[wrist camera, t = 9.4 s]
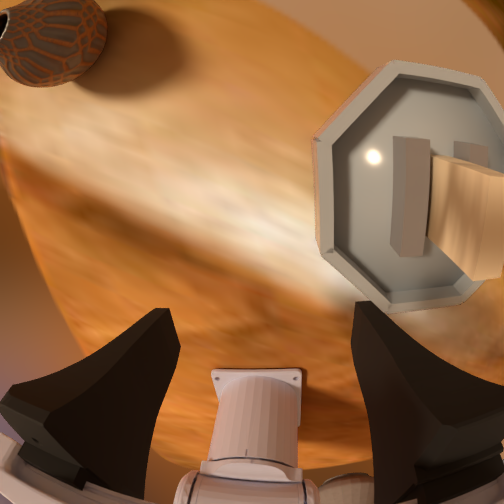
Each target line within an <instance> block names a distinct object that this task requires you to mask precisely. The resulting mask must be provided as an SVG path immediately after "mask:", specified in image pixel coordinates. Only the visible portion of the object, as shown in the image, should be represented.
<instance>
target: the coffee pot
mask: <svg viewBox="0 0 504 504" xmlns="http://www.w3.org/2000/svg"><path fill="white" fill-rule="evenodd" d="M318 490H319V494H320V504H374V477H371V476H369V475H368V474H366V473H348V474H343V475H339V476H335V477H333V478H330V479H328V480H326V481H325V482H324V483H323V485H321V486H320V487H319V488H318Z"/></svg>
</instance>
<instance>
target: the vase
mask: <svg viewBox="0 0 504 504" xmlns="http://www.w3.org/2000/svg"><path fill="white" fill-rule="evenodd" d="M106 38H107V21H106V17H105V15H104V13H103V11H102V9H101V8H100V6H99V5H98V4H97V3H96V2H95V1H94V0H25V1H23V2H22V3H20V4H18V5H16V6H13V7H10V8H6V9H4V10H2V11H0V66H1V67H2V69H3V71H4V72H5V73H6V74H7V75H8V76H9V77H10V78H11V79H13V80H14V81H16V82H18V83H20V84H23V85H26V86H30V87H53V86H57V85H61V84H64V83H67V82H69V81H72V80H74V79H75V78H77V77H79V76H80V75H82V74H83V73H84V72H86V71H87V70H88V69H89V68H90V67H91V66H92V65H93V64H94V62H95V61H96V60H97V58H98V57H99V55H100V54H101V52H102V50H103V47H104V45H105V42H106Z"/></svg>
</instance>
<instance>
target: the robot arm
mask: <svg viewBox="0 0 504 504" xmlns="http://www.w3.org/2000/svg"><path fill="white" fill-rule="evenodd" d="M180 348H181V346H180V343H179V340H178V336H177V333H176V330H175V326H174V323H173V320H172V316H171V313H170V309H169V308H155V309H153V310H152V311H150V312H149V313H148V314H146V315H145V316H144V317H142V318H141V319H140V320H139V321H137V322H136V323H135V324H133V325H132V326H131V327H130V328H128V329H127V330H126V331H124V332H123V333H122V334H120V335H119V336H118V337H116V338H115V339H114V340H112V341H111V342H109V343H108V344H106V345H105V346H104V347H102V348H101V349H99V350H98V351H96V352H95V353H93V354H91V355H90V356H88V357H86V358H84V359H83V360H81V361H79V362H77V363H75V364H73V365H71V366H69V367H67V368H64V369H62V370H60V371H58V372H55V373H53V374H50V375H47V376H44V377H41V378H38V379H35V380H31V381H27V382H23V383H19V384H15V385H12V387H11V388H10V389H9V391H8V392H7V393H6V394H5V396H4V397H3V398H2V400H1V401H0V413H1V415H2V416H3V417H4V419H5V420H6V421H7V422H8V423H9V425H10V426H11V427H12V428H13V429H14V430H15V431H16V432H17V433H18V434H19V435H20V436H21V438H22V439H23V440H24V441H25V442H24V444H23V445H20V444H19V443H18V442H16V441H15V440H13V439H11V438H10V437H8V436H7V435H5V434H3V433H0V493H1V494H2V495H3V496H5V497H6V498H7V499H9V500H10V501H11V502H12V503H14V504H156V503H152V502H148V501H144V489H145V478H146V469H147V463H148V456H149V450H150V445H151V440H152V435H153V431H154V427H155V423H156V419H157V416H158V413H159V410H160V407H161V405H162V402H163V399H164V397H165V394H166V392H167V389H168V387H169V384H170V382H171V379H172V376H173V374H174V371H175V369H176V365H177V361H178V357H179V352H180ZM351 348H352V355H353V361H354V366H355V370H356V373H357V377H358V380H359V384H360V387H361V391H362V394H363V398H364V402H365V405H366V409H367V413H368V418H369V425H370V433H371V441H372V452H373V466H374V504H504V459H503V460H502V458H501V455H500V453H501V452H503V449H504V448H503V446H502V443H501V441H502V440H503V439H504V386H501V385H498V384H495V383H492V382H488V381H486V380H483V379H481V378H478V377H476V376H473V375H471V374H469V373H467V372H465V371H462V370H460V369H459V368H457V367H455V366H453V365H451V364H449V363H447V362H446V361H444V360H442V359H441V358H439V357H438V356H436V355H435V354H433V353H432V352H430V351H429V350H427V349H426V348H424V347H423V346H422V345H420V344H419V343H418V342H417V341H415V340H414V339H413V338H412V337H410V336H409V335H408V334H407V333H405V332H404V331H403V330H402V329H401V328H400V327H399V326H398V325H396V324H395V323H394V322H393V321H392V320H391V319H390V318H389V317H388V316H387V315H386V314H385V313H384V312H382V311H381V310H380V309H379V308H378V307H377V306H376V305H375V304H374V303H373V302H372V301H360V302H355V312H354V321H353V329H352V337H351ZM211 376H212V380H213V383H214V387H215V390H216V394H217V397H218V400H219V407H218V412H217V417H216V421H215V426H214V431H213V435H212V440H211V445H210V450H209V454H208V459H207V461H202V463H201V467H200V471H197V470H192V471H190V472H189V473H188V474H186V475H185V476H183V478H182V479H181V481H180V483H179V485H178V488H177V491H176V495H175V499H174V504H320V494H319V490H318V488H317V486H316V485H315V484H314V483H313V482H312V481H311V480H310V479H302V468H298V427H299V426H300V417H301V389H302V371H301V370H300V369H256V370H243V369H214V370H212V372H211ZM217 377H219V378H217Z"/></svg>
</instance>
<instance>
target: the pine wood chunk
mask: <svg viewBox="0 0 504 504" xmlns="http://www.w3.org/2000/svg"><path fill="white" fill-rule="evenodd" d="M425 236H427V237H428V238H429V239H430V240H431V241H432V242H433V243H434V244H435V245H436V246H437V247H439V248H440V249H441V250H442V251H443V252H444V253H445V254H446V255H447V256H448V257H449V258H450V259H451V260H452V261H453V262H454V263H455V264H456V265H457V266H458V267H459V268H460V269H461V270H462V271H463V272H464V273H465V274H466V275H467V276H468V277H469V278H470V279H471V280H472V281H479V280H487V279H494V278H500V276H501V272H502V268H503V264H504V174H503V173H500V172H498V171H495V170H492V169H489V168H486V167H483V166H480V165H477V164H474V163H471V162H467V161H464V160H461V159H457V158H454V157H450V156H444V155H431V154H430V184H429V201H428V213H427V224H426V233H425Z"/></svg>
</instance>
